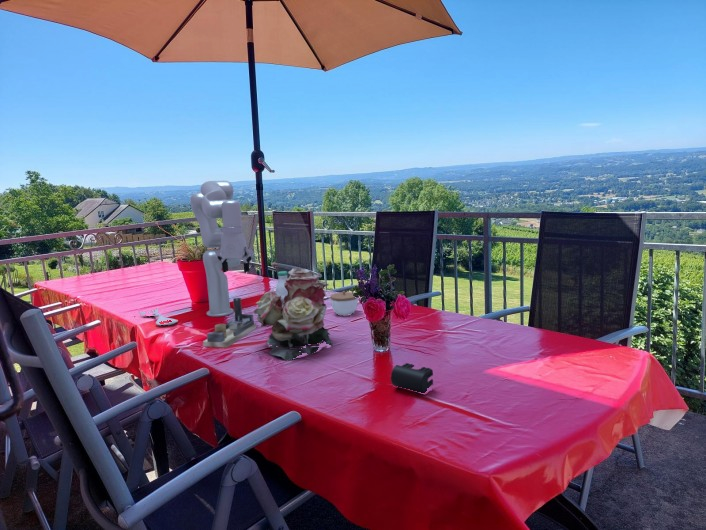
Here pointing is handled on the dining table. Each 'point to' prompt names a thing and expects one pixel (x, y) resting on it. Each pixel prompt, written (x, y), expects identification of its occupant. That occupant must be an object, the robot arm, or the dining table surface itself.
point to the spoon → (160, 318)
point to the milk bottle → (281, 283)
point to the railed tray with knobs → (229, 334)
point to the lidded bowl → (344, 303)
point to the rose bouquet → (295, 314)
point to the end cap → (411, 377)
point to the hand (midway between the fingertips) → (236, 271)
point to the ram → (237, 316)
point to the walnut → (221, 329)
